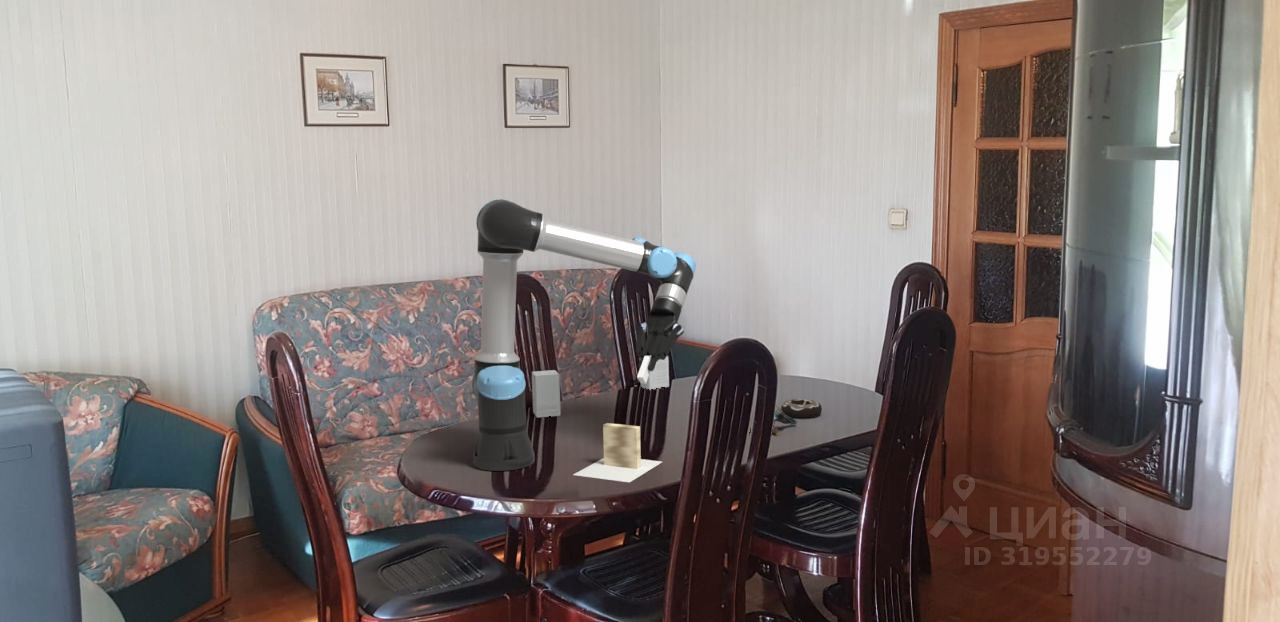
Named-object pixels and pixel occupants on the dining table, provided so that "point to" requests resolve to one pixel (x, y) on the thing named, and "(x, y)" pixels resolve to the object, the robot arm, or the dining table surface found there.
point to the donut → (801, 408)
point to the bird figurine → (781, 420)
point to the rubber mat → (616, 471)
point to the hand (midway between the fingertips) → (641, 380)
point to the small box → (658, 375)
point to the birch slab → (622, 445)
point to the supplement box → (546, 393)
